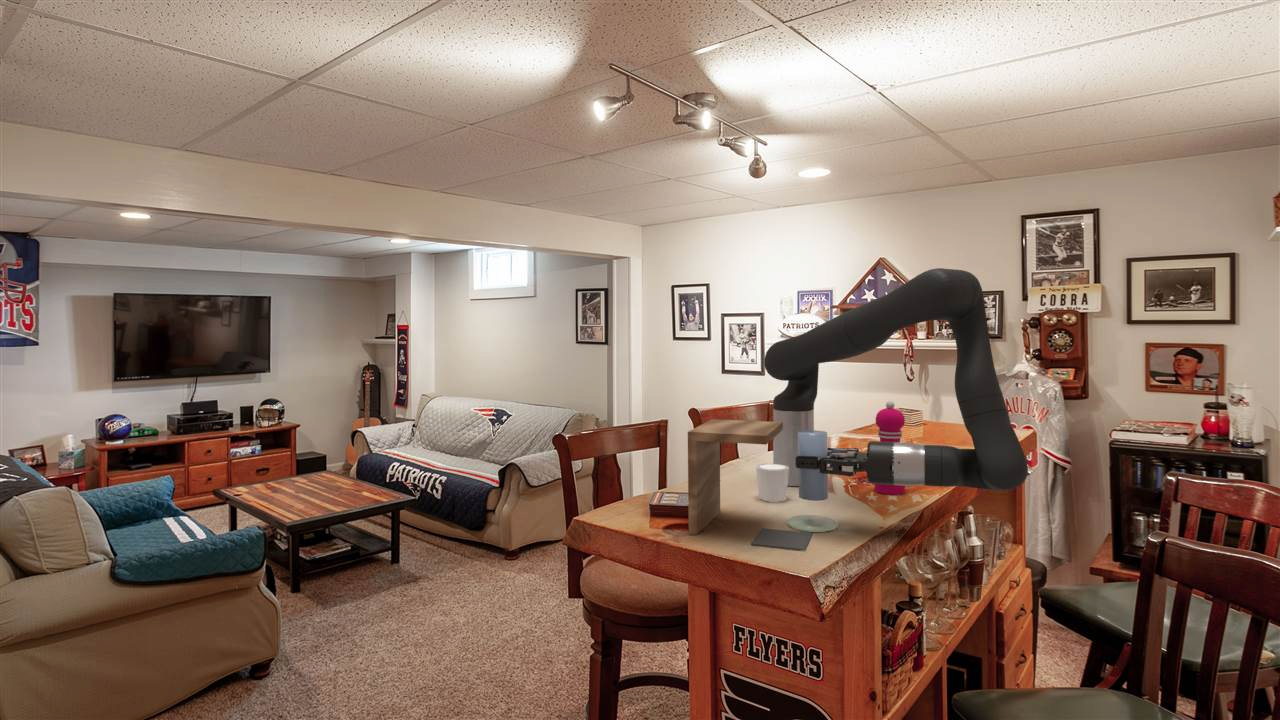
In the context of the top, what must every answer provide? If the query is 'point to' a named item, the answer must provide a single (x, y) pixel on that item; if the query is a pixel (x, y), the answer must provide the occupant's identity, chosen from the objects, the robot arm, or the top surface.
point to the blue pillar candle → (810, 479)
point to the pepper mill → (890, 439)
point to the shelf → (716, 462)
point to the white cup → (772, 482)
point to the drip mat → (782, 539)
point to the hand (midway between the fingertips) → (798, 458)
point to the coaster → (812, 523)
